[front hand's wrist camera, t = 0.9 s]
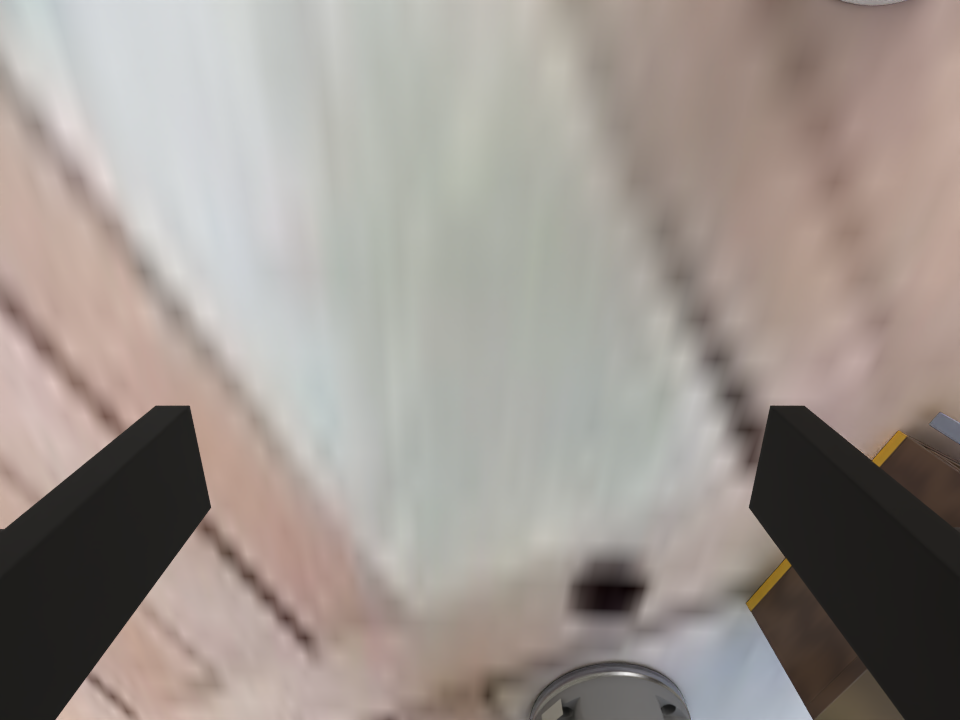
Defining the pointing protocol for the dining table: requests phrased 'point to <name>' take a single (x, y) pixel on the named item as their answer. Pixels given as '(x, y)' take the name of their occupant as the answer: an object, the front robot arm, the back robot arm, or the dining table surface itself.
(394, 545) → the dining table surface
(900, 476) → the brown-grey rectangular block
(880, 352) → the dining table surface
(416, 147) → the dining table surface
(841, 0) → the back robot arm
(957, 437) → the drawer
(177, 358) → the dining table surface
